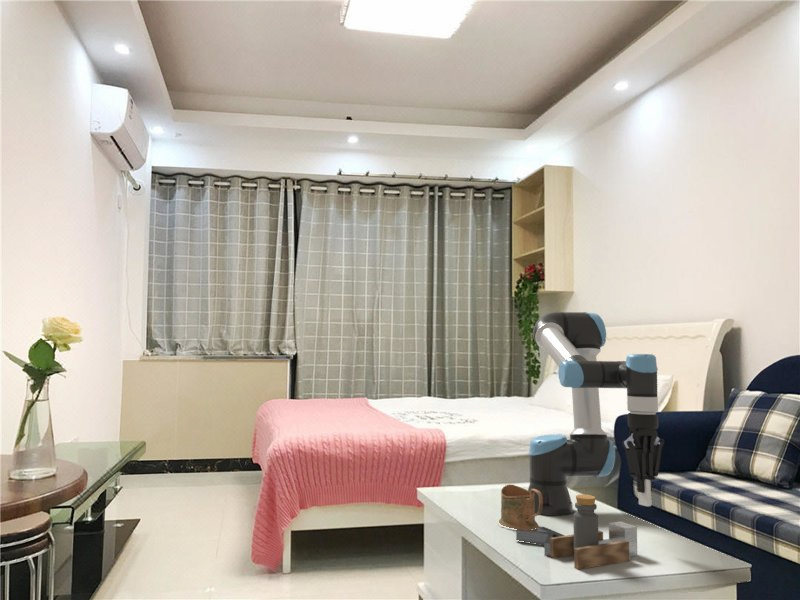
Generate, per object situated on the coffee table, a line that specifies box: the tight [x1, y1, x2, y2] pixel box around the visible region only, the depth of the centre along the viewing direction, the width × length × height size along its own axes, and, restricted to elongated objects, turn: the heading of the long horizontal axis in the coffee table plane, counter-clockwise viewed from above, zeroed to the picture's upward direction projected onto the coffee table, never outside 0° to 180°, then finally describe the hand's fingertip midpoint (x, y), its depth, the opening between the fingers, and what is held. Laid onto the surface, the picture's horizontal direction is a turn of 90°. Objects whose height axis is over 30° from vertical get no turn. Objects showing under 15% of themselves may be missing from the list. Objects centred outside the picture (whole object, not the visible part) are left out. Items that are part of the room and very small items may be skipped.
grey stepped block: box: [599, 520, 638, 558], centre depth 155 cm, size 10×6×7 cm, turn 115°
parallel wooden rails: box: [549, 530, 630, 570], centre depth 151 cm, size 16×10×4 cm, turn 115°
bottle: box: [573, 493, 599, 548], centre depth 151 cm, size 6×6×15 cm
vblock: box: [515, 526, 566, 557], centre depth 160 cm, size 9×14×3 cm, turn 25°
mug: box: [498, 484, 543, 531], centre depth 177 cm, size 12×18×12 cm, turn 22°
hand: (644, 505), depth 159 cm, fingers closed
